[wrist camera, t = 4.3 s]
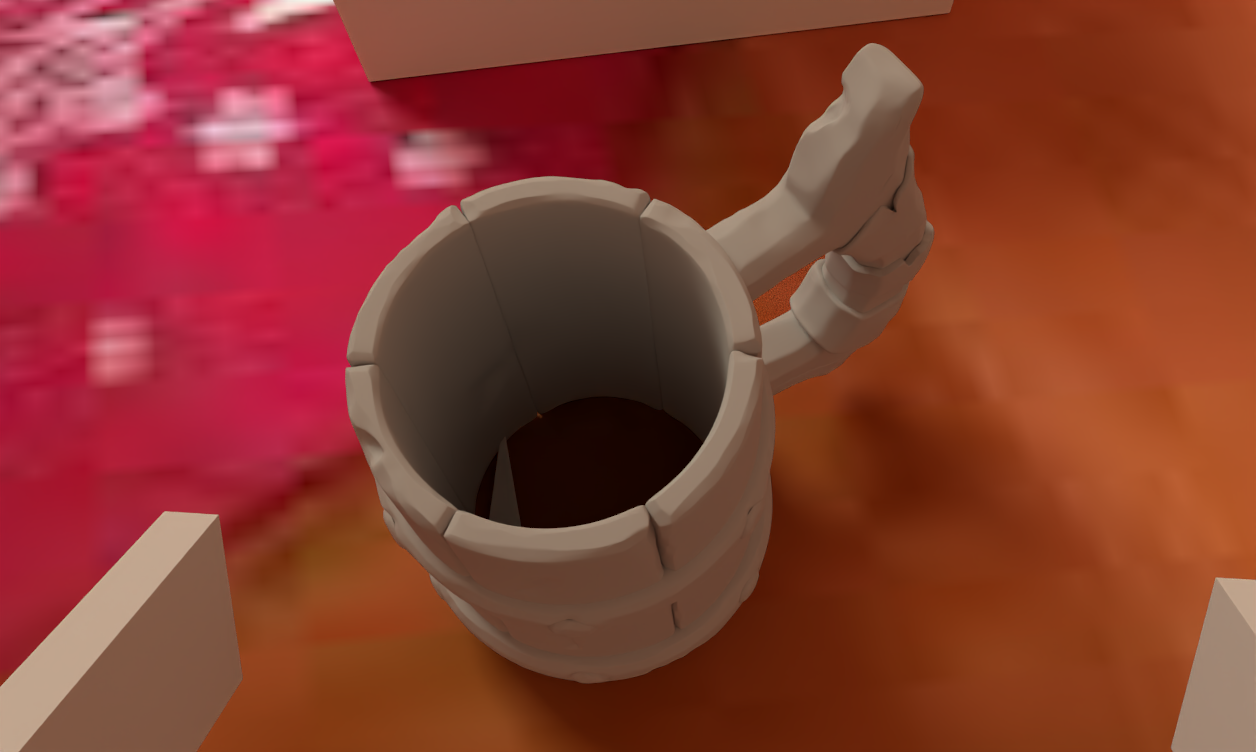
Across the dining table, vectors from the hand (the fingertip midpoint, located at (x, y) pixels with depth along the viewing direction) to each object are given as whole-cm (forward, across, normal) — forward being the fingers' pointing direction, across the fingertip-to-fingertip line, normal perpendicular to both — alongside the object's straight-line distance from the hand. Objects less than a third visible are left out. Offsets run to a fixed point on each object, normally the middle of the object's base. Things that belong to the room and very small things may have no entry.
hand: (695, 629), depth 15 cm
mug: (+11, -1, -4) cm, 11 cm away
